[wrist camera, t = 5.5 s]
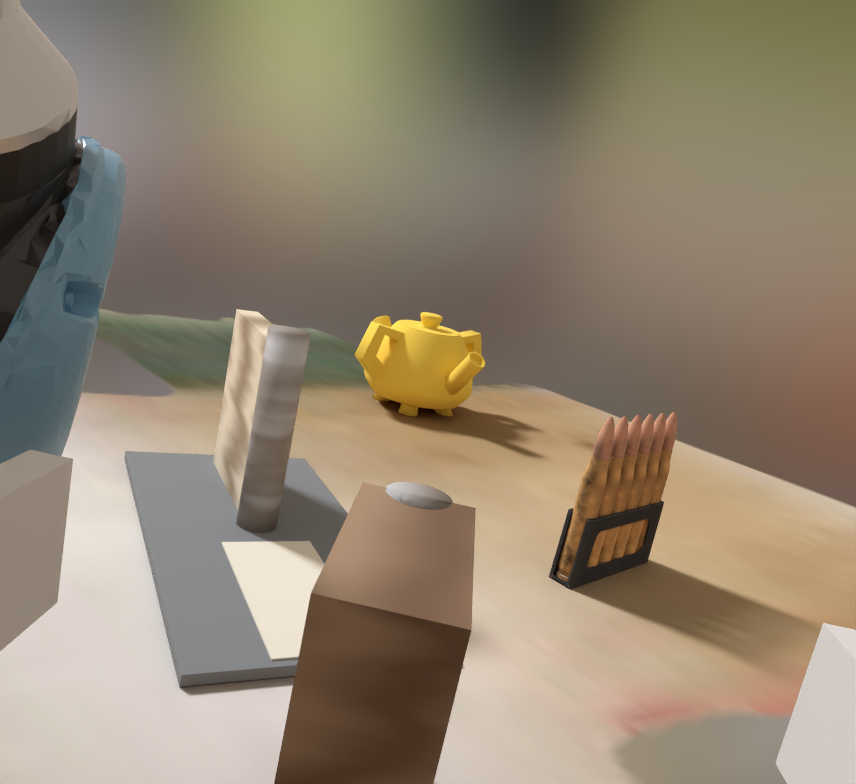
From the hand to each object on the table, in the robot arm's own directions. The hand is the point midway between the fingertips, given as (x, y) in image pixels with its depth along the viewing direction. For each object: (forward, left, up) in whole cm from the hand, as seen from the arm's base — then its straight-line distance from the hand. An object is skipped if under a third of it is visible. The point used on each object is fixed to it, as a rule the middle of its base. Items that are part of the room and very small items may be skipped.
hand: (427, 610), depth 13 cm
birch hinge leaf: (-13, +38, -15) cm, 43 cm away
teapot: (-4, +76, -16) cm, 78 cm away
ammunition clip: (+13, +41, -16) cm, 46 cm away
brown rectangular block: (-1, +11, -16) cm, 19 cm away
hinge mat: (-10, +33, -16) cm, 38 cm away
